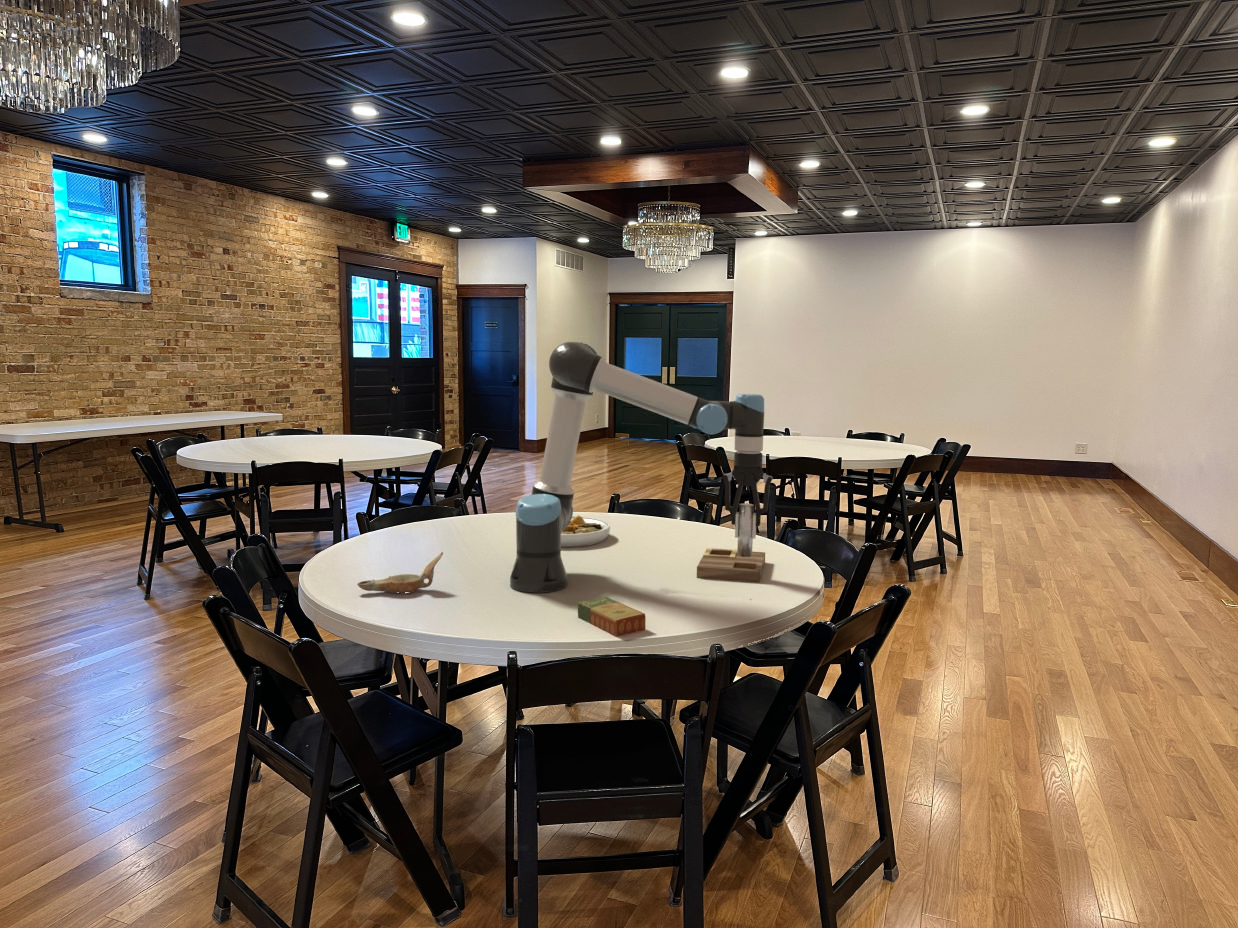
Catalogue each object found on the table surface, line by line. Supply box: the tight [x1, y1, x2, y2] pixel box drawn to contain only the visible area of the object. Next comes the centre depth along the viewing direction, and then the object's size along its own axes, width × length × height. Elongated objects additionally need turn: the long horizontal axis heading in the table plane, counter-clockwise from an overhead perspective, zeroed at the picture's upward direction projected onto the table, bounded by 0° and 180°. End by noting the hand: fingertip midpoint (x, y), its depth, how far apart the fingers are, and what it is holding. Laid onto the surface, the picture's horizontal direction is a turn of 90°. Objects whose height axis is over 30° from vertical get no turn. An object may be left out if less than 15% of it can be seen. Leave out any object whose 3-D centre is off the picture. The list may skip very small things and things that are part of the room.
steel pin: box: [736, 503, 755, 557], centre depth 218 cm, size 4×4×14 cm
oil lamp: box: [356, 551, 444, 593], centre depth 205 cm, size 9×21×10 cm, turn 104°
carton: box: [577, 596, 646, 637], centre depth 182 cm, size 8×16×4 cm, turn 34°
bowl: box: [561, 515, 611, 548], centre depth 268 cm, size 30×30×8 cm
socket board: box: [696, 547, 766, 583], centre depth 226 cm, size 22×17×4 cm
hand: (745, 536), depth 218 cm, fingers closed on steel pin, 4 cm apart
